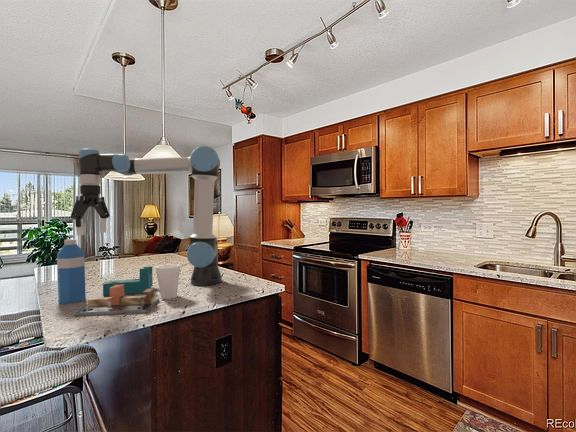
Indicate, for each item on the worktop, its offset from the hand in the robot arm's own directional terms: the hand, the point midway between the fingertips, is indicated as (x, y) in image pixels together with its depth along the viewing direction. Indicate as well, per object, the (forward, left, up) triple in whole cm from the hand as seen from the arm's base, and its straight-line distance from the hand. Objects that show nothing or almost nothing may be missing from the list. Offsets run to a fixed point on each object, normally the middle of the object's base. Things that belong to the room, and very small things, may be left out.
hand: (92, 233), depth 136 cm
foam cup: (-35, +9, -27) cm, 45 cm away
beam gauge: (-21, +23, -26) cm, 40 cm away
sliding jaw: (-19, +23, -25) cm, 39 cm away
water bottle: (+4, +8, -27) cm, 28 cm away
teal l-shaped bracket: (-14, -3, -27) cm, 30 cm away
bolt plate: (-21, +22, -27) cm, 40 cm away
